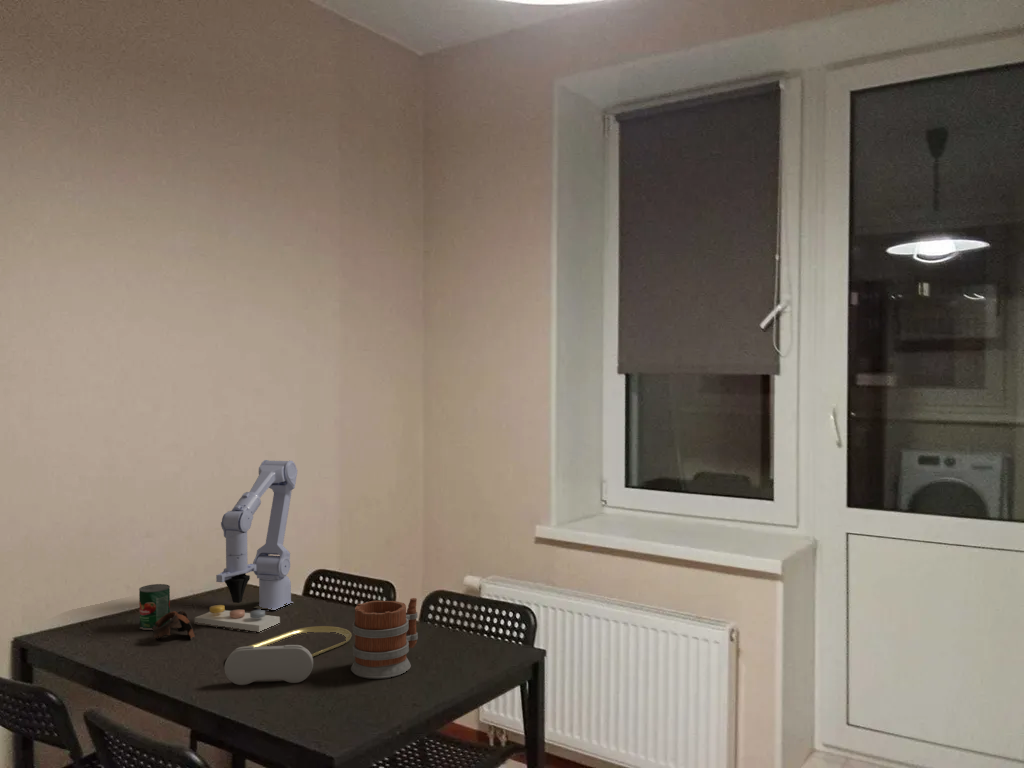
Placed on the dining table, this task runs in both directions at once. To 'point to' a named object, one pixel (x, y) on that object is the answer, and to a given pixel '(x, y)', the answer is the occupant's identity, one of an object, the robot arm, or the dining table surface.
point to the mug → (383, 638)
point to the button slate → (257, 613)
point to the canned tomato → (153, 604)
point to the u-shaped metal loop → (305, 630)
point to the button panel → (238, 621)
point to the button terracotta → (237, 613)
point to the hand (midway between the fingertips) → (237, 602)
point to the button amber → (217, 608)
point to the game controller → (269, 664)
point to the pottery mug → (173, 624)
